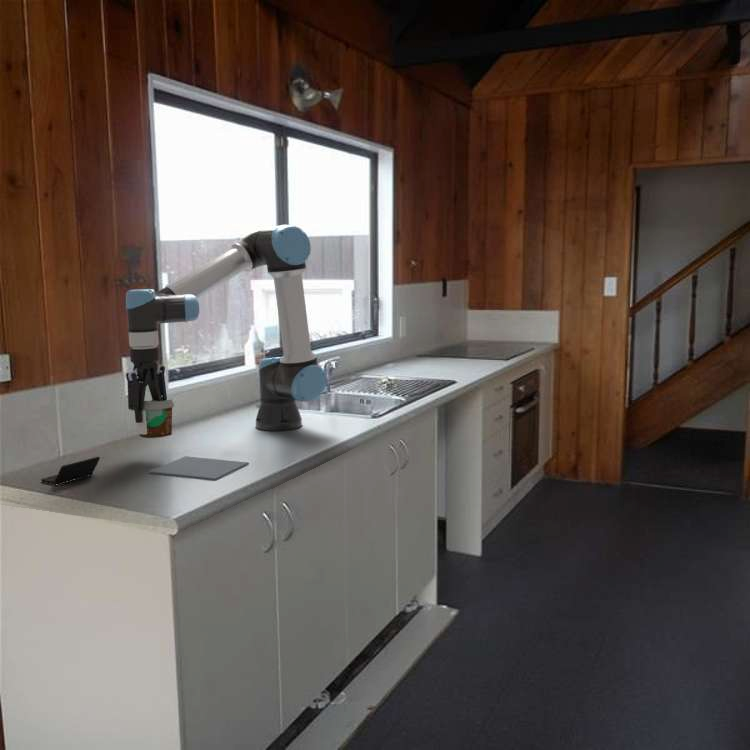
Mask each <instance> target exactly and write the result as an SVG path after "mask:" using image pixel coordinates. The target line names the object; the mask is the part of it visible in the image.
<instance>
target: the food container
mask: <svg viewBox="0 0 750 750" xmlns="http://www.w3.org/2000/svg"><path fill="white" fill-rule="evenodd" d="M173 407H175V404H174V401H173V398H170V399H167V400H166V401H157V400H152V399H151V400H144V407H143V410H146V423H147V434H146V435H145V434H139V437H141V438H145V439H156V438H163V437H164V438H165V437H169V436H172V434H173V433H172V432H173V430H172V429H173Z"/></svg>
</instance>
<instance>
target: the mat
mask: <svg viewBox="0 0 750 750" xmlns="http://www.w3.org/2000/svg"><path fill="white" fill-rule="evenodd" d="M247 464H248V465H249V464H250V463H249V462H248V461H239V460H238V461H237V460H230V459H229V460H228V459H218V458H217V459H215V458H206V457H196V456H187V455H186V456H182V457H180V458H177V459H176V460H173V461H171V462H168V463H165V464H163V465H161V466H158V467H156V468H154V469H151V470H149V471H148V474H153V475H160V476H161V475H163V476H172V477H181V478H189V479H190V478H191V479H199V480H208V481H209V480H210V481H217V480H220V479H222V478H224V477H225V475H226V476H228V475H230V474H232V473H234V472H236V471H237V469H238V470H240V469H242V468H244V467H245V465H246V466H248V465H247ZM243 466H244V467H243ZM241 467H242V468H241ZM239 468H240V469H239ZM235 470H236V471H235ZM233 471H234V472H233ZM231 472H232V473H231ZM229 473H230V474H229ZM227 474H228V475H227ZM223 476H224V477H223ZM221 477H222V478H221ZM219 478H220V479H219Z"/></svg>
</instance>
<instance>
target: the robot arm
mask: <svg viewBox="0 0 750 750" xmlns="http://www.w3.org/2000/svg"><path fill="white" fill-rule="evenodd" d="M311 247H312V246H311V242H310V238H309V237H308V234H307V233H306V232H305V231H304V230H303V229H301V228H300V227H298V226H296V225H293V224H291V225H289V224H281V225H275V226H273V225H272V226H263V227H261V228H258V229H256V230H254V231H252V232H251V233H249V234H247V235H246V236H244V237H242V238H241V239H239V240H237V241H236V242H234V243H232V245H231V248H230V249H229V250H227V251H226V252H224V253H222V254H220V255H219V256H216V257H215V258H213V259H212V260H210V261H208V262H206V263H205V264H203V265H201V266H200V267H198V268H196V269H195V270H193V271H191V272H189V273H187V274H185V275H183V276H182V277H180V278H178V279H177V280H175V281H174V282H172V283H170V284H169V285H167V286H165V287H163V288H161V289H159V290H157V291H155V290H154V289H152V288H146V289H145V288H144V289H143V288H142V289H141V288H140V289H130V290H128V291H127V292H126V293H125V310H126V319H127V321H126V322H127V330H128V331H127V332H128V343H129V347H131V348H130V349H129V357H130V358H129V359H130V362H131V363H132V364H133V368H132V371H131V372H126V373H125V377H126V381H127V407H128V410H131V411H134V417H135V423H136V432H137V433H136V434H137V435H140V434H145V435H146V434H147V423H146V410H143V407H144V401H145V400H146V399H145V398H146V397H145V396H146V391H147V390H146V389H147V386H148V390H149V392H150V396H151V400H157V401H166V400H168V395H167V388H166V378H165V372H166V370H165V369H166V367H165V366H164V365H158V362H159V361H160V349H159V347H157V346H159V343H160V342H159V334H158V333H159V331H158V324H159V325H161V324H173V323H188V322H193V321H196V320H197V319H198V318H199V315H200V303H199V300H198V299H199V298H201V297H203V296H204V295H205V294H207V293H209V292H211V291H213V290H214V289H215V288H217V287H220V286H221V285H223V284H225V283H226V282H228V281H230V280H231V279H232V278H235V277H236V276H237V275H239V274H241V273H242V272H244V271H245V272H250V271H252V270H254V269H256V268H258V267H263V266H266V268H267V269H266V270H267V273H268V275H270V276H271V277H272V278H273V284H274V290H275V297H276V298H275V299H276V306H277V311H278V312H277V313H278V321H279V329H280V335H281V344H282V351H283V352H282V353H283V354H282V356H276V357H267V358H262V359H260V361H259V364H258V375H259V398H260V404H259V407H258V412H257V415H256V419H255V428H256V429H259V430H262V431H287V430H289V431H290V430H295V429H299V428H300V427H301V426H302V425H303V422H302V421H303V419H302V415H301V413H300V410H299V407H298V403H297V401H298V402H313V401H316V400H317V399H318V398H320V396H321V395H322V393H323V392H324V391H325V389H326V386H327V375H326V372H325V370H324V369H323V368H322V367H321V366H319V364H318V363H319V362H318V357H317V354H315V353H314V352H313V351H312V346H311V340H310V331H309V324H308V322H309V321H308V314H307V308H306V298H305V291H304V283H303V273H304V272H305V271H306V270H307V266H306V261H307V260H308V258H309V256H310V255H311V250H312V249H311ZM301 428H302V427H301Z"/></svg>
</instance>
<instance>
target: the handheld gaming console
mask: <svg viewBox="0 0 750 750" xmlns="http://www.w3.org/2000/svg"><path fill="white" fill-rule="evenodd" d="M100 459H101V457H100V456H96V457H92V458H89V459H85V460H81V461H76V462H73V463H69V464H65V465H62V466H61V467H60V469H59V471H58V473H57V474H56V475H52V476H51V475H50V476H48V477H44V478H41V479H40V480H41V481H42V482H47V483H51V484H55V485H56V484H60V483H63V482H66V481H70V480H73V479H77V480H79V479H78V478H81V477H84V478H86V477H85V476H88V475H91V476H93V475H94V471H95V470H96V468H97V465H98V463H99V461H100ZM92 474H93V475H92ZM88 477H89V476H88ZM81 479H82V478H81ZM42 482H41V483H42ZM70 482H71V481H70ZM47 483H46V484H47ZM66 483H67V482H66ZM51 484H50V485H51ZM63 484H64V483H63ZM55 485H54V486H55ZM60 485H61V484H60ZM56 486H57V485H56Z"/></svg>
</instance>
